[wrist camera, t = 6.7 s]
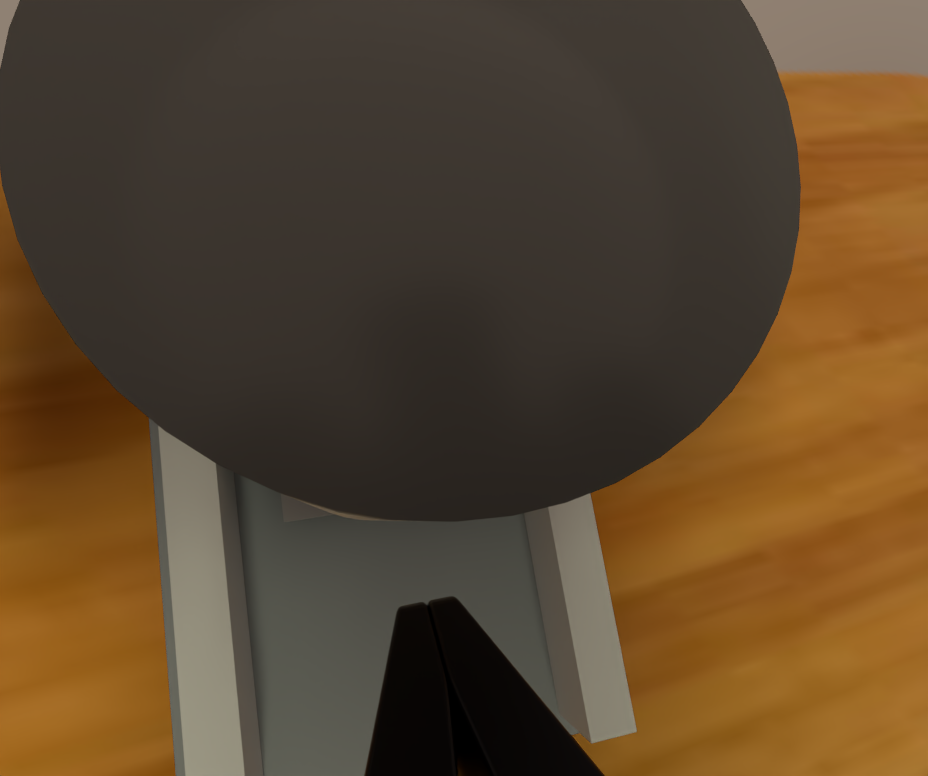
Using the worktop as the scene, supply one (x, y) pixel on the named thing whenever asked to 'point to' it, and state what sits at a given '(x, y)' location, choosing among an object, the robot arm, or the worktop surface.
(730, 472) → the worktop surface
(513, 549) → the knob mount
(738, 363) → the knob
